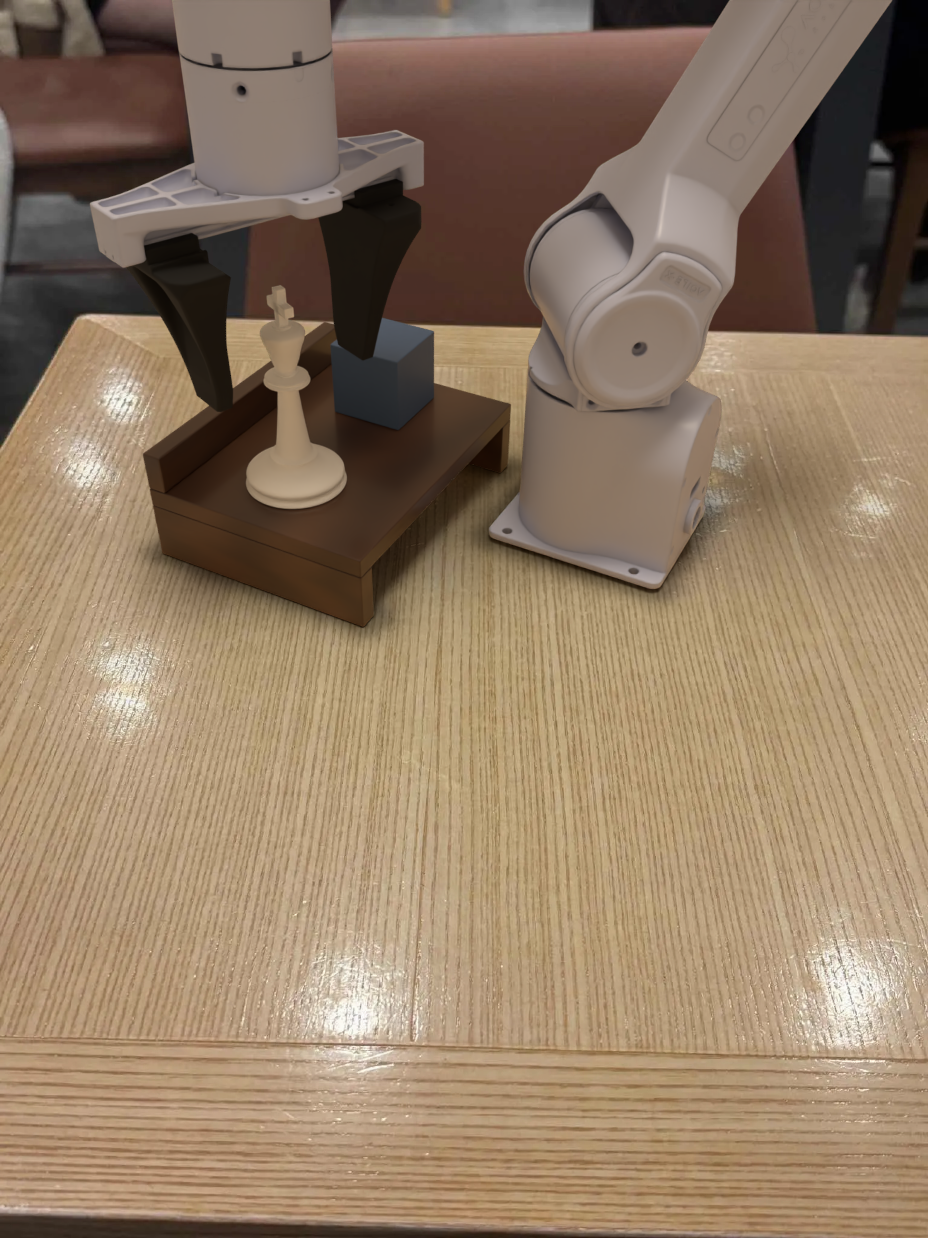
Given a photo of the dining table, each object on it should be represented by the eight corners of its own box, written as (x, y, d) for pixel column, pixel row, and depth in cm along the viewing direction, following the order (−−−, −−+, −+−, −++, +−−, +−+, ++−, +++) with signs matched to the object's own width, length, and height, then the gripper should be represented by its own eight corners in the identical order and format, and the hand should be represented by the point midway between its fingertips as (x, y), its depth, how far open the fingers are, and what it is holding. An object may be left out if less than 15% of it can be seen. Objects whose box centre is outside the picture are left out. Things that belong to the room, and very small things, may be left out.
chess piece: (275, 521, 51) (252, 323, 45) (229, 472, 54) (201, 280, 48) (365, 489, 54) (356, 295, 47) (316, 443, 57) (301, 255, 50)
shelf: (508, 465, 63) (513, 370, 59) (363, 627, 52) (358, 525, 48) (330, 412, 67) (324, 320, 63) (162, 553, 56) (141, 453, 52)
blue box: (434, 397, 60) (434, 330, 58) (398, 430, 58) (397, 362, 55) (372, 380, 62) (369, 313, 59) (334, 412, 59) (329, 343, 56)
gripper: (129, 110, 35) (190, 466, 44) (472, 43, 42) (465, 361, 51) (37, 62, 39) (110, 397, 48) (365, 7, 46) (375, 308, 55)
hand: (287, 375), depth 50 cm, fingers open, 7 cm apart
